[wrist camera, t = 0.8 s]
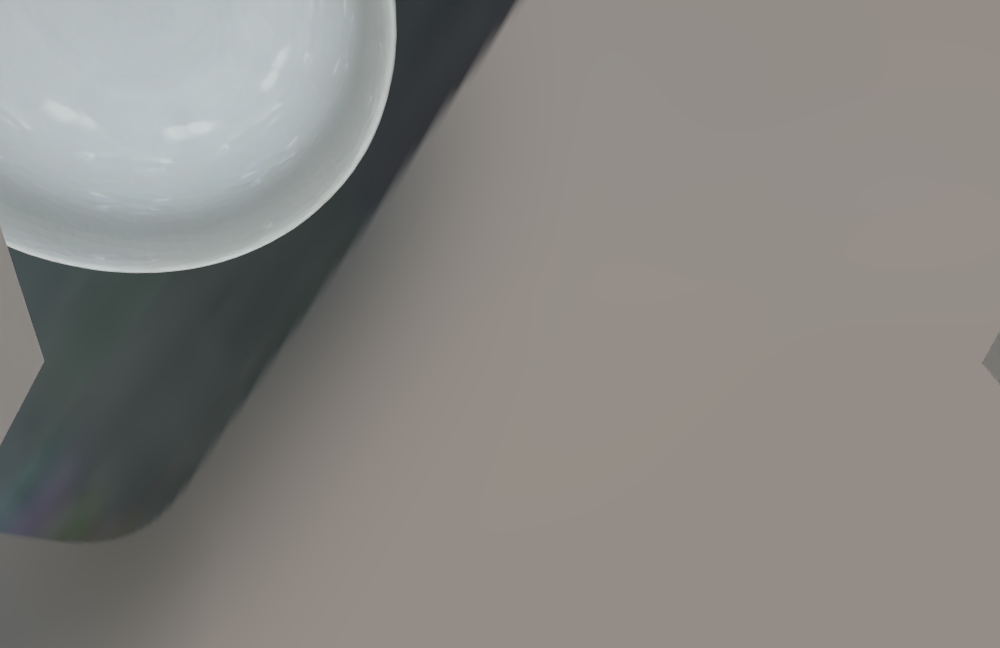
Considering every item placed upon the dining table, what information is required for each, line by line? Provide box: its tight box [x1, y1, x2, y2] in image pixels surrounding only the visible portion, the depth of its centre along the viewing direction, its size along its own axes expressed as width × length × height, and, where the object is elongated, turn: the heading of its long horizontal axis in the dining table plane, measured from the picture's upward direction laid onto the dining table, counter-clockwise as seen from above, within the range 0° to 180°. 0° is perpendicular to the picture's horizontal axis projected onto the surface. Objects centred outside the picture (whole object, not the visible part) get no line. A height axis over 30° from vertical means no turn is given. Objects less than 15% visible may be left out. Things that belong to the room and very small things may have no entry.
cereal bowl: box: [0, 0, 397, 273], centre depth 28 cm, size 17×17×7 cm
